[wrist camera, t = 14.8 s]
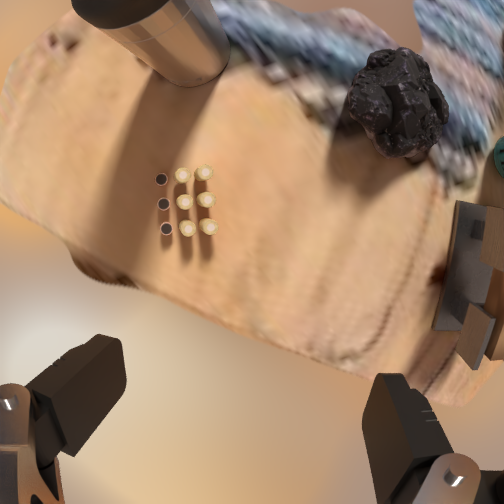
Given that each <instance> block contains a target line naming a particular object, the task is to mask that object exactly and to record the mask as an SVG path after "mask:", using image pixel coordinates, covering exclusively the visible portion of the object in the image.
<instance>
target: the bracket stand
mask: <svg viewBox="0 0 504 504" xmlns="http://www.w3.org/2000/svg"><path fill="white" fill-rule="evenodd" d="M493 267H494V268H496V269H498V270H500V271H502V272H504V209H503V208H498V207H492V206H487V207H486V206H482V205H478V204H473V203H468V202H464V201H458V200H456V208H455V216H454V224H453V231H452V238H451V244H450V250H449V256H448V261H447V266H446V271H445V276H444V281H443V285H442V290H441V294H440V298H439V302H438V306H437V310H436V314H435V318H434V321H433V325H432V328H433V329H434V330H436V331H461V333H460V337H459V340H458V343H457V346H456V349H455V350H456V351H457V353H458V354H459V355H460V356H461V357H462V358H463V360H464V361H465V362H466V363H467V364H468V366H469V367H470V368H471V369H472V370H478V368H479V365H480V363H481V360H482V358H483V355H484V353H485V350H486V347H487V344H488V341H489V339H490V336H491V333H492V330H493V327H494V323H495V320H496V318H494V317H493V316H492V315H491V314H489V313H488V312H487V311H485V310H484V309H483V308H484V304H485V300H486V297H487V293H488V289H489V285H490V280H491V276H492V271H493Z"/></svg>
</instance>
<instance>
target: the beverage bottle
mask: <svg viewBox="0 0 504 504" xmlns="http://www.w3.org/2000/svg"><path fill="white" fill-rule="evenodd" d="M494 161H495V165H496V168H497V170H498V172H499V174H500V175H501V176H502V177H503V178H504V137H502V138H501V139H499V140H498V142H497V143H496V145H495V149H494Z"/></svg>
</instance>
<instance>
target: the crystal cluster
mask: <svg viewBox="0 0 504 504" xmlns="http://www.w3.org/2000/svg"><path fill="white" fill-rule="evenodd" d="M347 97H348V101H349V107H348V109H349V111H350V116H351V118H353V119H354V120H356V121H357V122H358V123H359V124H361V125H362V126H363V127H364V128H365V131H366V134H367V136H368V138H370V139H372V143H373V145H374V147H375V149H376V150H377V151H378V152H379V153H380V154H382V155H383V156H384V157H386V158H387V159H388V158H401V157H412V156H415V155H416V154H417V153H419V152H423V151H425V150H427V149H428V148H431V147H432V146H433V145H434V144H436V143H437V142H438V140H439V139H440V138H441V134H442V130H443V125H444V124H446V123H448V117H449V111H448V109H449V105H448V103H447V102H446V100H445V98H444V95H443V94H442V91H441V90H440V88H439V87H438V86H437V85H436V84H435V83H434V82H433V79H432V75H431V73H430V68H429V65H428V63H427V62H425V61H424V59H423V58H422V57H421V56H420V55H418V54H416V53H415V52H413V51H412V50H410V49H408V48H404V47H400V48H398V49H397V50H396V51H395V50H391V49H383V50H380V51H375V52H374V53H371V54H370V55H369V57H368V59H367V65H366V66H365V67H364V68H362V69H361V70H360V71H359V72H358V73H357V74H356V75H355V77H354V80H353V85H352V87H351V88H350V89H349V91H348V95H347Z"/></svg>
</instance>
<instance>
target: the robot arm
mask: <svg viewBox="0 0 504 504" xmlns="http://www.w3.org/2000/svg"><path fill="white" fill-rule="evenodd" d="M71 2H72V6H73V8H74V10H75V12H76V13H77V14H78V15H79V16H80V17H81V18H83V19H84V20H86V21H87V22H89V23H90V24H92V25H93V26H95V27H96V28H98V29H99V30H101V31H102V32H103V33H105V34H106V35H108V36H109V37H111V38H112V39H114V40H115V41H117V42H118V43H119V44H121V45H122V46H124V47H125V48H126V49H128V50H129V51H130V52H132V53H133V54H134V55H136V56H137V57H139V58H140V59H141V60H143V61H144V62H145V63H147V64H148V65H149V66H151V67H152V68H153V69H154V70H156V71H157V72H158V73H160V74H161V75H162V76H163V77H165V78H166V79H167V80H169V81H170V82H172V83H174V84H175V85H179V86H183V87H192V86H198V85H201V84H204V83H207V82H208V81H210V80H212V79H214V78H215V77H216V76H217V75H219V74H220V72H221V71H222V70H223V69H224V68H225V66H226V64H227V63H228V60H229V57H230V50H231V49H230V43H229V41H228V39H227V36H226V34H225V32H224V30H223V28H222V24H221V22H220V20H219V18H218V16H217V14H216V12H215V10H214V8H213V6H212V4H211V2H210V0H71ZM126 381H127V379H126V371H125V365H124V357H123V350H122V344H121V341H120V340H119V339H117V338H113V337H109V336H105V335H101V334H97V335H95V336H94V337H93V338H91V339H90V340H89V341H88V342H86V343H85V344H82V345H80V346H78V347H75V348H73V349H70V350H69V351H68V352H66V353H65V354H64V355H63V356H61V357H60V359H57V360H56V361H55V362H54V363H53V365H50V366H49V367H48V368H46V369H45V370H44V371H43V372H42V373H40V374H39V375H38V376H37V377H35V378H34V379H33V380H32V381H30V383H28V384H27V385H26V386H22V385H19V384H13V383H10V384H4V385H1V386H0V504H65V501H64V496H63V490H62V483H61V476H60V468H59V461H58V458H57V455H58V453H59V452H60V451H62V452H64V453H66V454H68V455H70V456H72V457H75V455H76V454H77V453H78V451H79V450H80V449H81V448H82V446H83V445H84V444H85V442H86V441H87V440H88V439H89V437H90V436H91V434H92V433H93V432H94V431H95V429H96V428H97V427H98V426H99V424H100V423H101V422H102V420H103V419H104V418H105V417H106V415H107V414H108V413H109V412H110V410H111V409H112V408H113V406H114V405H115V404H116V403H117V401H118V400H119V399H120V398H121V396H122V395H123V393H124V391H125V388H126ZM362 430H363V435H364V440H365V444H366V449H367V454H368V458H369V463H370V468H371V473H372V478H373V483H374V489H375V494H376V499H377V504H504V470H503V471H485V470H480V469H479V467H478V465H477V464H476V463H475V462H474V461H473V460H472V459H471V458H469V457H467V456H465V455H462V454H458V453H454V451H453V449H452V447H451V445H450V443H449V441H448V439H447V437H446V435H445V433H444V431H443V429H442V427H441V425H440V423H439V421H437V417H436V415H435V413H434V412H432V408H431V406H430V404H429V402H428V400H427V398H426V397H425V396H423V395H422V394H421V393H420V392H419V391H418V390H416V389H410V387H409V385H408V383H407V381H406V379H405V377H404V376H403V374H401V373H378V374H377V375H376V377H375V380H374V383H373V386H372V389H371V392H370V395H369V398H368V401H367V404H366V407H365V409H364V413H363V418H362Z"/></svg>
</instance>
